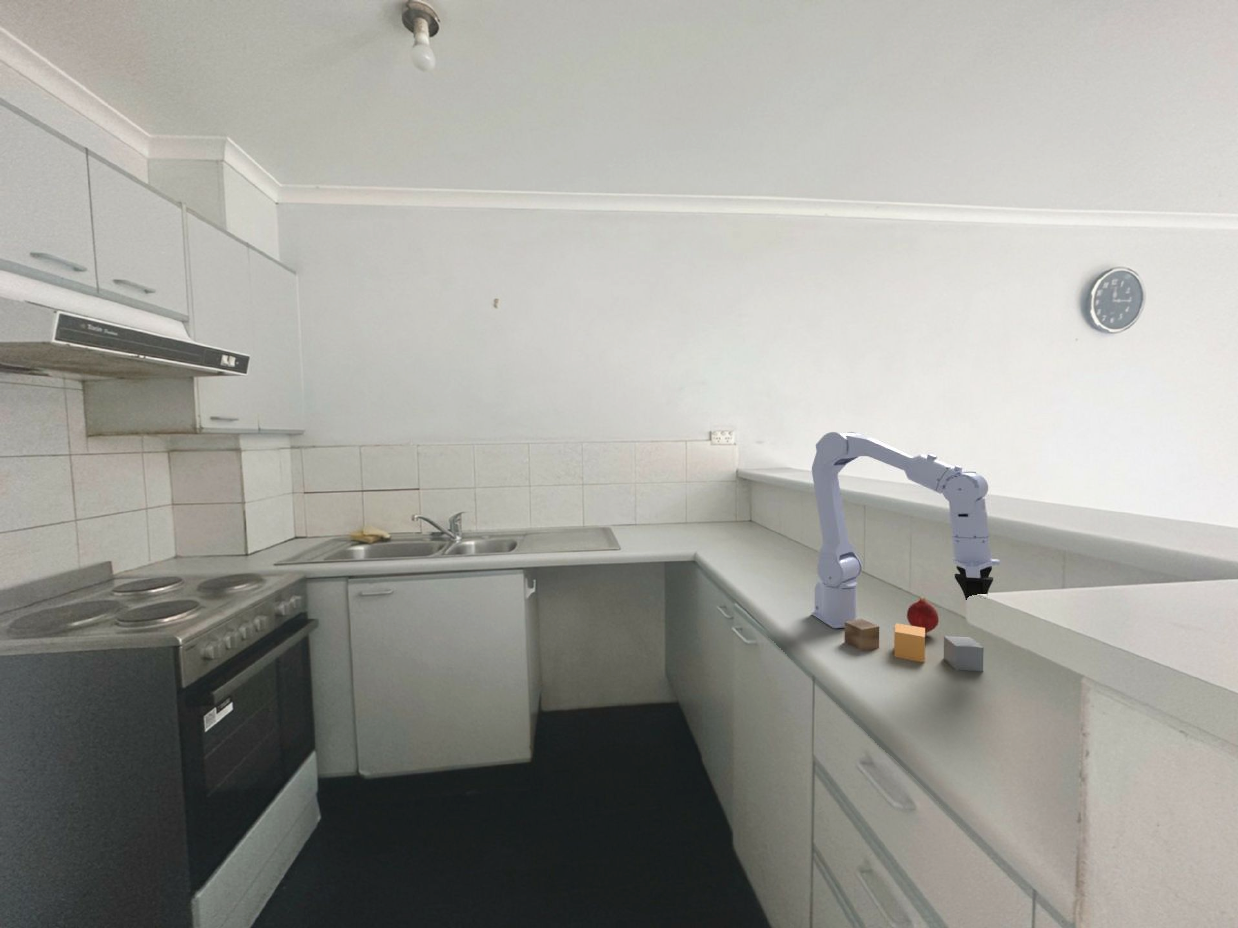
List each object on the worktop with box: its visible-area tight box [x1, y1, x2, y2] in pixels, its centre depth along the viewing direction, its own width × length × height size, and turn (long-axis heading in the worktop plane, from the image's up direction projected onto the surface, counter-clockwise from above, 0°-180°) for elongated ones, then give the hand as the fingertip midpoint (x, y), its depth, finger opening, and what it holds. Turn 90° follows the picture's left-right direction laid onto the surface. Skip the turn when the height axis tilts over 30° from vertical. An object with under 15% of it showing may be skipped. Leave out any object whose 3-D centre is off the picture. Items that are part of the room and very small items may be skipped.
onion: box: [906, 596, 939, 634], centre depth 103 cm, size 6×6×8 cm
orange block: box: [893, 622, 926, 663], centre depth 93 cm, size 5×5×5 cm
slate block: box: [943, 635, 985, 672], centre depth 89 cm, size 4×4×4 cm
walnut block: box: [844, 618, 880, 652], centre depth 98 cm, size 4×4×4 cm
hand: (977, 608), depth 89 cm, fingers open, 7 cm apart
